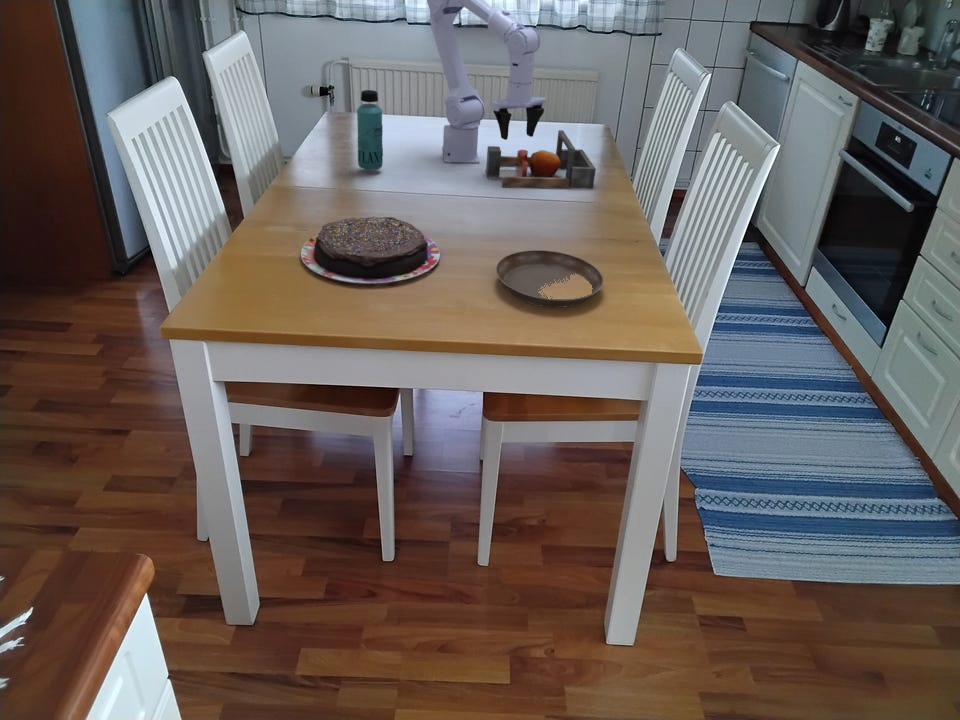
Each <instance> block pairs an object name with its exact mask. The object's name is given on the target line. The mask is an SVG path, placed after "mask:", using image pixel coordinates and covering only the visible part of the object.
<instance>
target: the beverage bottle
mask: <svg viewBox="0 0 960 720" xmlns="http://www.w3.org/2000/svg"><path fill="white" fill-rule="evenodd" d="M360 94H361V95H360V101H362V102H364V103H363V104H361V105H359V106H358V107H357V109H356V114H357V115H356V117H357V118H356V121H357V139H356V140H357V142H356V144H357V165H358V167H359V168H361V169H363V170H369V171H372V170H379V169H381V168H383V164H384V160H383V159H384V158H383V157H384V149H383V109H382V108H381V107H380V106H379V105H378V104H375V103H376V102H378V101H379V96H378V92H377V91H376V90H373V89H372V90H370V89H365V90H362V91H361V93H360ZM365 102H366V103H365Z"/></svg>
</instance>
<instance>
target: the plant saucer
mask: <svg viewBox="0 0 960 720" xmlns="http://www.w3.org/2000/svg"><path fill="white" fill-rule="evenodd" d="M575 273H576V274H578V275H580V276H582V277H584V278H585V279H586V280H587V281H589V283H590V284H591V285H592V288H593V289H592V294H590V295H587V296H584V297H580V298H575V299H552V298H553V297H552V298H551V299H548V297H547V296H546V295H545V294H544V293H543V294H544V295H545V296H546V297H547V298H546V297H545V296H544V295H543V296H544V297H545V298H544V297H543V296H542V295H541V294H540V293H538V292H539V291H541V290H542V289H543V288H542V289H540V288H541V286H543V287H544V285H545V283H546V285H547V284H548V286H549V287H550V286H551V284H552V283H553V284H554V283H555V281H556V282H557V281H558V280H559V279H560V280H561V282H562V283H563V282H564V280H563V278H564V279H565V281H566V276H567V278H568V279H569V280H570V275H571V274H572V275H573V274H574V275H575ZM495 274H496V275H497V278H498V280H499V281H500V283H501V284H502V285H503V287H504V288H505V289H506V290H507V291H508V292H509V293H511V294H512V295H513V296H514V297H516V298H517V299H519V300H522V301H523V302H525V301H526V302H525V303H528V302H529V303H528V304H531V303H532V304H531V305H535V304H536V305H535V306H539V305H542V306H541V307H544V306H550V307H549V308H565V307H564V306H569V307H572V305H574V306H577V305H581V304H582V303H584V302H587V301H588V300H590V299H591V298H593V297H594V296H596V294H597V293H598V292H599V291H600V290H602V287H604V286H603V285H604V280H605V279H604V276H603V275H602V272H601V271H600V270H599V269H598V268H597V267H596V266H595V265H593V264H592V263H591V262H589V261H586V260H584V259H583V258H581V257H577V256H575V255H571V254H569V253H564V252H559V251H553V250H540V249H539V250H538V249H533V250H531V249H530V250H523V251H518V252H514V253H510V254H508V255H506V256H504V257H503V258H501V259H500V260H499V261H498V262H497V264H496V265H495ZM554 279H555V281H554ZM560 280H559V281H558V282H557V283H559V282H560ZM562 280H563V281H562ZM567 281H568V280H567ZM567 281H566V282H567ZM550 282H551V283H550ZM549 284H550V285H549ZM564 284H565V283H564ZM546 285H545V287H546ZM545 287H544V288H545ZM538 289H539V290H538ZM542 292H543V291H542ZM542 292H541V293H542ZM541 296H542V297H543V298H542V297H541ZM550 297H551V296H550ZM576 304H577V305H576Z"/></svg>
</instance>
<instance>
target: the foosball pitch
mask: <svg viewBox="0 0 960 720" xmlns="http://www.w3.org/2000/svg"><path fill="white" fill-rule="evenodd" d="M557 133H558V134H557V141H556V150H555V154H556V155H557V156H558V157H559V159H560V162H561V165H560V167H559V169H561V170H562V169H563V170H564V169H565V171H566V172H565V177H551V178H545V177H533V176H527V177H503V178H502V182H501V187H502V188H521V189H524V188H525V189H529V188H530V189H569V188H578V189H579V188H581V189H582V188H583V189H584V188H585V189H593V188H594V183H595V177H596V171H597V170H596V167H595V166H594V164H593V163H592V161H591V160H590V158H589V157H588V155H587V154H586V152H585V151H584V150H583V149H577V148H575V146H574V145H573V144H572V142H571V140H570V139H569V137H568V136H567V134H566V132H565V131H564V130H561V129H559V130H558V131H557ZM563 144H564V145H565V147H566V148H565V149H564V148H563ZM530 158H531V156H527V158H526V161H527V163H528V168H530ZM516 163H517V155H516V156H515V155H512V156H509V155H501V161H500V167H516ZM559 169H558V170H559Z"/></svg>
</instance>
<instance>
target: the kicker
mask: <svg viewBox="0 0 960 720" xmlns="http://www.w3.org/2000/svg"><path fill="white" fill-rule="evenodd" d="M486 151H487V152H486V155H487V156H486V169H485V174H486V177H487V179H488V180H502V178H503V177H528V168H529V167H528V163H527V161H526V158H527V157H528V153H529V151H528V150H527V149H519V150H517V154H516V157H517V163H516V166H515V169H502V168H501V166H500V161H501V156H502V150H501V147H500V146H498V145H497V146H492V145H491V146H490V145H489V146H487V150H486Z"/></svg>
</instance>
